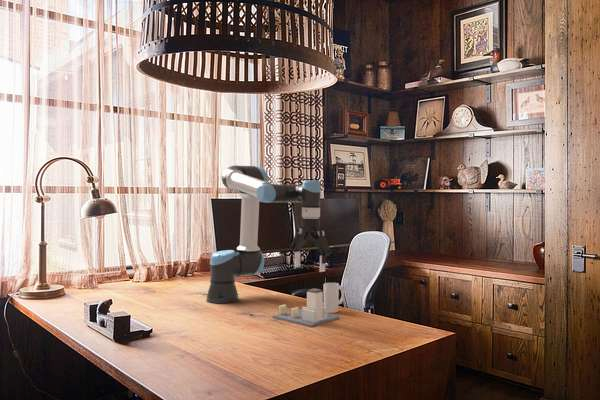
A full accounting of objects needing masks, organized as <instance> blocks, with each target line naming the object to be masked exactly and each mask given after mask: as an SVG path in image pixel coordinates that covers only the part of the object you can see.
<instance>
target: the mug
mask: <svg viewBox="0 0 600 400" xmlns="http://www.w3.org/2000/svg"><path fill="white" fill-rule="evenodd" d="M339 291H341V297H340V299H339V295H340V292H339ZM344 298H345V289H344V288H343V285H340V284H339V283H338V282H325V283H323V307H325V308H327V314H335V313H338V312H339V305H342V304H343V301H344Z"/></svg>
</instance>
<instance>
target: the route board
mask: <svg viewBox="0 0 600 400" xmlns="http://www.w3.org/2000/svg"><path fill="white" fill-rule="evenodd" d="M271 317H272V318H273V319H277V320H282V321H284V322H290V323H293V324H298V325H301V326H306V327H309V328H312V327H316V326H318V325H319V326H320V325H323V324H325V323H326V324H327V323H329V322H332V321H336V320H339V319H340V316H338V315H334V314H331V313H327V308H325V307H324V306H323V314H322V320H318V321H315V311H312V310H307V306H301V307H298V306H296V307H292V308H290V310H289V311H287V304H281V305H278V314H273V315H272V316H271Z"/></svg>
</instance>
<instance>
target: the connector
mask: <svg viewBox="0 0 600 400" xmlns="http://www.w3.org/2000/svg"><path fill="white" fill-rule="evenodd" d="M306 307H307V310H312V311H315V321H318V320H322V314H323V307H324V291H322V289H320V288H310V289H308V291H307V292H306Z"/></svg>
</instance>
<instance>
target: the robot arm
mask: <svg viewBox="0 0 600 400" xmlns="http://www.w3.org/2000/svg"><path fill="white" fill-rule="evenodd" d="M221 174H222V175H221V182H222V185H224V187H225V188H226V189H228V190H231V191H238V194H239V195H240V197H241V208H240V212H241V213H240V229H239V230H240V235H239V237H240V238H239V245H238V246H237V247H236V251H235V250H233V249H226V250H220V251H215V252H213V253H212V254H210V262H209V264H210V268H209V269H210V270H209V271H210V275H209V276H210V282H209V288H208V289H207V293H206V302H208V303H211V304H212V303H213V304H230V303H235V302H237V301H239V293H238V290H237V286H236V278H238V277H246V276H248V277H251V276H255V275H256V276H257V275H259V274H260V273H261V272H262V271H263V269H264V267H265V257H264V253H263V252H262V251H261V248H260V247H259V246H258V239H259V238H258V236H259V235H258V234H259V218H260V217H259V216H260V215H259V214H260V203H267V204H270V203H301V227H299V228H298V227H297V228H295V235H294V236H293V238H292V242H291V244H290V247H289V249H290V250H291V251H293V259H294V268H300V267H301V251H300V249H301V248H302V247H303V246H304V244H305V243H306V241H310V242H313V243H314V244H315V246H316V248H317V250H318V251H319V253H320V255H319V270H318V272H319V273H322V272H326V265H327V263H328V262H327V261H328V259H327V257H328V256H329V255H332V251H331V248H330V245H329V242H328V240H327V237H326V231H325V230H320V229H319V228H320V226H321V219H320V217H321V197H322V196H321V192H322V189H321V181H319V180H314V179H313V180H310V179H307V180H303V181H302V184H296V183H295V184H294V183H293V184H283V183H282V184H278V183H277V184H276V183H271V182H269V176H268V173H267V171H266V169H264V168H263V167H262V166H258V165H257V166H256V165H237V164H236V165H230V166H228V167H226V168H225V169H224V170H223V172H222V173H221Z"/></svg>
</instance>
